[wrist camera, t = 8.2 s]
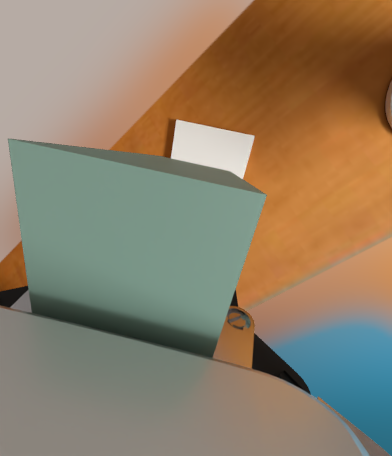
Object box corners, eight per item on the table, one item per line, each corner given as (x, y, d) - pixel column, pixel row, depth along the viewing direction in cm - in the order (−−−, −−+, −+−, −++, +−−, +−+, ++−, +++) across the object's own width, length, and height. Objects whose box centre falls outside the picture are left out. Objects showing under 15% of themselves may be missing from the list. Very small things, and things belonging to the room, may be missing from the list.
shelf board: (253, 137, 29) (254, 135, 28) (221, 249, 36) (222, 253, 35) (178, 121, 30) (176, 119, 28) (161, 235, 36) (159, 238, 35)
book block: (230, 171, 12) (266, 195, 3) (193, 318, 16) (164, 500, 7) (159, 155, 12) (8, 138, 3) (140, 305, 16) (53, 470, 7)
